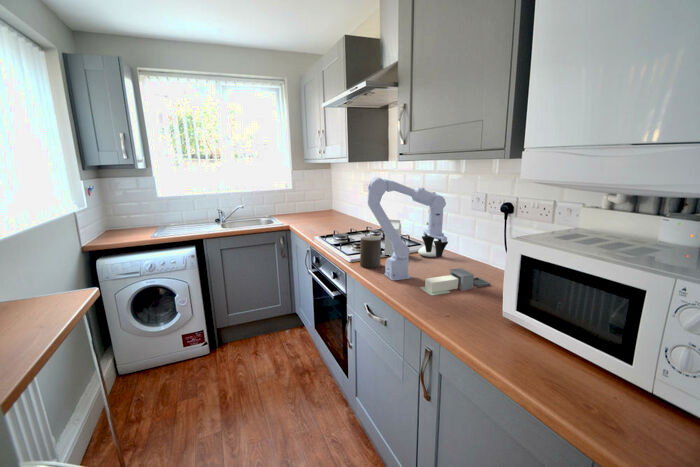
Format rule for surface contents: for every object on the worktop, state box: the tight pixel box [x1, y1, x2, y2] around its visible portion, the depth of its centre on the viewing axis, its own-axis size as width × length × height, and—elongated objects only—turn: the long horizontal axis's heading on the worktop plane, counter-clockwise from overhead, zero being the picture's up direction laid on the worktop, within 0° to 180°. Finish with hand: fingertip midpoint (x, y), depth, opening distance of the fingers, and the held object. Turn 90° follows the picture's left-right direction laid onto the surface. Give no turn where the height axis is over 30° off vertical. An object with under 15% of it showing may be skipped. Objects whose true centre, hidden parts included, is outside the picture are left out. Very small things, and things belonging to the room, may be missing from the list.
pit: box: [473, 276, 491, 288], centre depth 130 cm, size 6×7×1 cm
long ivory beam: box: [424, 274, 459, 293], centre depth 124 cm, size 12×4×4 cm, turn 110°
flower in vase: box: [417, 207, 436, 258], centre depth 166 cm, size 13×11×25 cm
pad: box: [419, 286, 451, 297], centre depth 124 cm, size 8×8×1 cm
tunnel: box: [449, 267, 475, 291], centre depth 127 cm, size 5×8×6 cm, turn 20°
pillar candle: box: [359, 235, 382, 270], centre depth 151 cm, size 10×10×15 cm
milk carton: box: [383, 219, 402, 257], centre depth 168 cm, size 7×7×19 cm
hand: (433, 254), depth 136 cm, fingers open, 7 cm apart
